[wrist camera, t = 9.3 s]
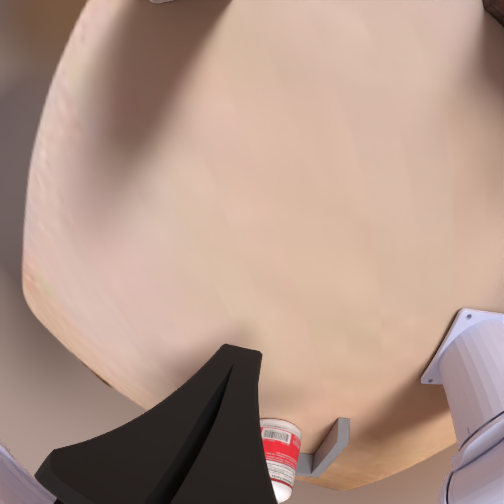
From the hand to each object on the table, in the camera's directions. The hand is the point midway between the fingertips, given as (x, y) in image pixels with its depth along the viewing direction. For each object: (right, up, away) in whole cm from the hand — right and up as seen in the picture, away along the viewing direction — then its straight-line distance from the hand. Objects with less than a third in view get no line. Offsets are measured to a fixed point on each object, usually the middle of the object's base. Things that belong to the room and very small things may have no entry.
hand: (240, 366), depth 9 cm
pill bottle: (+3, -16, +17) cm, 23 cm away
